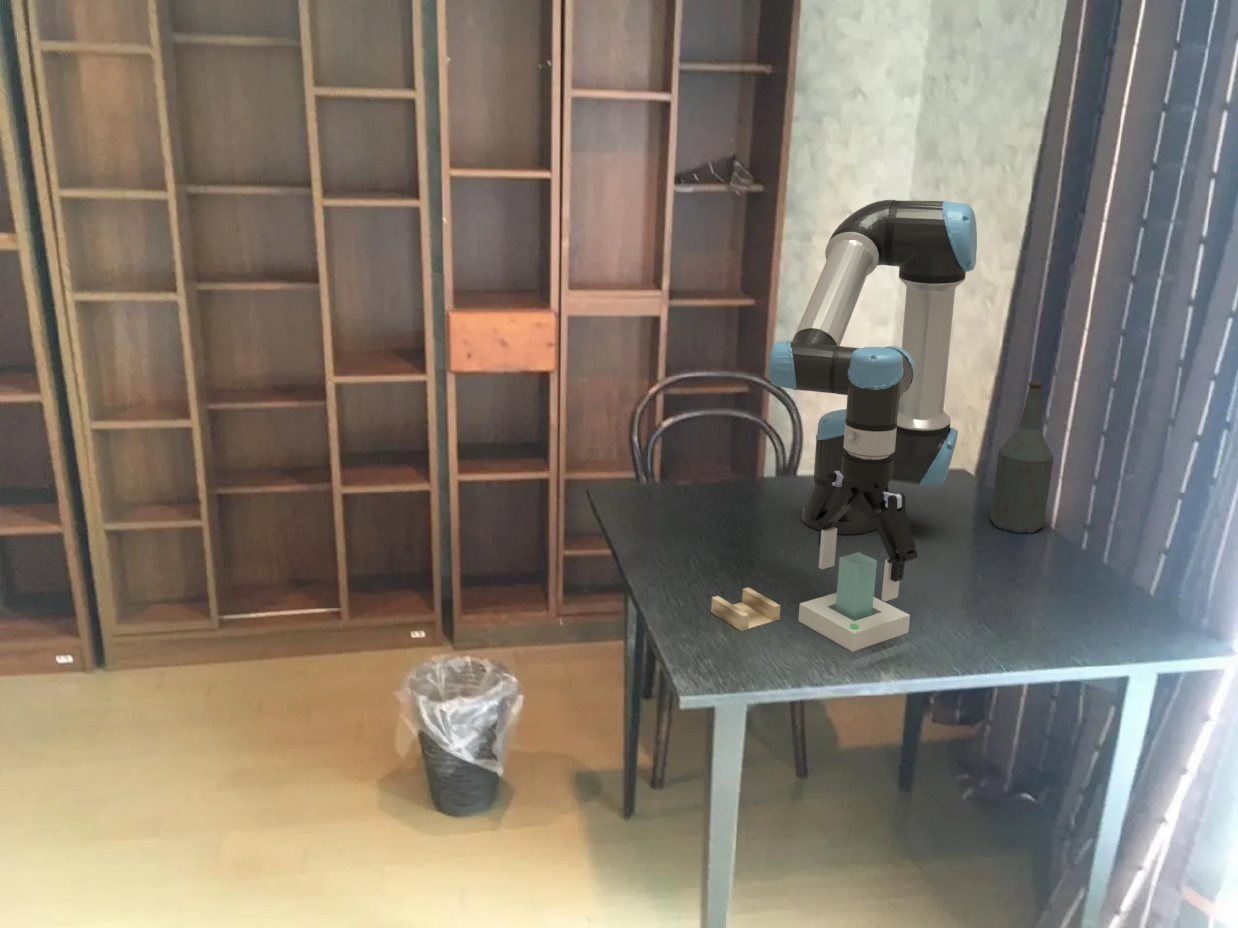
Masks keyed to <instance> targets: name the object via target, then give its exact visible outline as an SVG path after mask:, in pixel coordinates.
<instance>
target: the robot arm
mask: <svg viewBox="0 0 1238 928" xmlns="http://www.w3.org/2000/svg"><path fill="white" fill-rule="evenodd" d="M976 220H977V219H976V215H975V211H974V209H973V207H971V205H969V204H966V203H962V202H954V201H949V200H895V199H884V200H878V201H875V202H871V203H869V204H867V205H865V206H863V207H861V208H859V209H858V210H856V211H855V212H853V213H852V214H850V215H849V216H848V217H847V218H845V220H843V221H842V222H841V223H840V224H839V225H838V226H837V228H836V229H835V230H834V231H833V233H832V234H831V236H830V238H829V240H828V242H827V244H826V247H825V250H824V251H825V252H824V253H825V254H824V256H825V259H826V260H825V263H824V265H823V268H822V271H821V273H820V275H819V278H818V279H817V282H816V284H815V287H814V289H813V291H812V294H811V296H810V298H809V301H808V302H807V303H808V304H807V306H806V308H805V311H804V313H803V315H802V317H801V318H800V322H799V324H798V326H797V329H796V331H795V333H794V336H793V338H792V341H791V340H789V339H788V340H778V341H776V342H775V343H774V344H773V345H772V347H771V350H770V352H769V358H768V366H767V369H768V371H767V372H768V379H769V382H770V383H771V384H772V385H773V386H775V387H778V388H784V389H790V390H793V391H805V392H817V393H824V394H825V393H828V394H836V395H841V396H842V395H844V396H847V398H846V408H845V409H844V408H843V409H838V410H833V411H829V412H827V413H824V414H823V415H822V416H821V417H820V418H819V420H818V423H817V431H816V435H815V440H816V441H815V452H814V453H815V454H814V466H813V467H814V469H813V482H812V486H811V488H810V491H809V493H808V496H807V499H806V502H805V503H804V505H803V507H802V514H801V519H802V520H801V521H802V522H803V523H804V524H805V525H806V526H808V527H810V528H812V529H814V530H817V531H818V538H817V539H818V541H817V542H818V546H819V559H818V560H819V561H818V568H819V569H820V570H825V569H829V568H832V567H835V561H836V551H837V550H836V549H837V538H838V537H837V535H859V534H860V535H861V534H865V533H868V532H869V533H870V532H872V531H874V530H875V529H876V531H877V533H878V536H879V538H880V539H881V541H882V545H883V546H884V548H885V551H886V553H887V555H888V557H889V558H886V559H885V560H884V569H883V578H882V579H883V580H882V589H881V601H883V602H887V601H891V600H894V599H896V598H899V592H900V590H899V589H900V581H902V580H903V579H904V573H905V572H904V571H905V563H907V562H910V561H913V560H916V559H917V558H918V551H917V548H916V545H915V540H914V536H913V533H912V528H911V525H910V521H909V518H908V513H907V511H906V510H907V509H906V495H905V493H902V492H900V493H892V492H890V491H889V483H890V481H891V482H896V483H902V484H903V483H904V484H910V485H916V486H917V487H919V486H926V487H927V486H928V487H929V486H930V487H939V486H941V485H943V484H944V482H945V480H946V477H947V475H948V473H949V472H948V471H949V469H950V466H951V463H952V459H953V455H954V452H955V448H956V445H957V439H958V435H959V430H958V429H956V428H954V427H951V423H952V420H951V417H950V416H949V415H948V413H946V412H945V409H944V407H945V397H946V388H947V377H948V367H949V357H950V356H949V354H950V345H951V338H952V337H951V335H952V328H953V327H952V325H953V316H954V305H955V294H956V289H957V287H958V286H960V285H961V284H962V283H963V282H964V281H965V280H966V275H967V274H966V273H967V272H970V271H974V269H975V268H976V264H977V263H976V262H977V250H978V231H977V229H978V228H977V221H976ZM878 266H890V267H898V269H899V270H898V279H899V280H900V281H901V282H902V283H903V284H904V285H905V287H906V289H905V299H904V300H905V301H904V314H903V326H902V328H903V329H902V340H901V347H900V346H895V345H890V346H884V347H883V346H865V347H851V346H841V343H842V341H843V338H844V337H845V333H846V331H847V328H848V326H849V322H850V320H851V318H852V315H853V312H854V311H855V307H856V305H857V303H858V300H859V297H860V295H861V292H862V290H863V287H864V284H865V282H866V279H867V277H868V276H869V275H870V274H871V273H873V272H874V271H875V270H876V268H877V267H878ZM879 510H881V511H879Z"/></svg>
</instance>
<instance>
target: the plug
mask: <svg viewBox="0 0 1238 928" xmlns="http://www.w3.org/2000/svg"><path fill="white" fill-rule="evenodd" d="M838 560H839V561H838V562H839V563H838V574H837V585H836V593H837V595H836V607H835V611H836V612H838V613H840V614H842V615H844V616H846V617H848V618H849V619H851V620H853V621H856V620H859V619H862V618H865V617H868V616H872V609H873V599H874V597H875V585H876V577H877V576H876V575H877V566H878V560H876V559H875V558H872V557H870V556H867V555H865V554H863V553H862V552H859V551H857V552H854V553H851V554H847V555H842V556H839V559H838Z"/></svg>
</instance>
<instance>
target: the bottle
mask: <svg viewBox="0 0 1238 928" xmlns="http://www.w3.org/2000/svg"><path fill="white" fill-rule="evenodd" d="M1028 386H1029V388H1028V392H1027V395H1026V399H1025V404H1024V407H1023V411H1022V415H1021V419H1020V425H1019V426H1018V428H1016V430H1015V431H1014V432H1013V433H1012V434H1011V436H1010V437H1009V438H1008V439H1007V440H1006V441H1005V443H1004V444H1003V445H1002V446H1001V447H1000V448H999V450H998V455H997V463H996V469H995V476H994V477H995V478H994V485H993V493H992V494H993V495H992V501H991V507H990V508H991V509H990V515H989V517H990V519H991V521H992V523H993V525H995V526H996V528H997V527H998V528H997V529H999V528H1000V530H1002V529H1005V530H1004V531H1006V530H1009V531H1017V532H1028V531H1036V532H1038V531H1039V530H1038V529H1040V528H1041V527H1042V528H1043V527H1044V525H1045V518H1046V512H1047V504H1048V498H1049V492H1050V483H1051V478H1052V477H1051V476H1052V472H1053V464H1054V455H1053V453H1052V451H1051V449H1050V447H1049V445H1048V443H1047V441H1046V439H1045V438H1044V435H1043V433H1042V431H1041V405H1042V404H1041V400H1042V398H1041V397H1042V396H1041V395H1042V393H1041V392H1042V387H1043V383H1042V382H1040V381H1030V382H1028ZM995 526H994V527H995ZM1001 528H1002V529H1001ZM1042 528H1041V529H1042ZM1041 529H1040V530H1041ZM1037 530H1038V531H1037ZM1009 531H1008V532H1009Z"/></svg>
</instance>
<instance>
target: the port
mask: <svg viewBox="0 0 1238 928" xmlns="http://www.w3.org/2000/svg"><path fill="white" fill-rule="evenodd" d="M836 595H837V592H834V593H831V594H827V595H824V596H821V597H817V598H813V599H810V600H807V601H803V602H800V603H799V604H798V605H799V608H798V609H799V610H798V622H799V623H801V624H803V625H805V626H806V627H808V628H810V629H811V630H814V631H815V632H817V633H819V634H821V635H822V636H824V637H826V638H827V639H830V640H831V641H833V643H836V644H838V645H840V646H841V647H843V648H845V649H846V650H849V651H850V652H851V653H853V652H856V651H859V650H863V649H864V648H868V647H871V646H874V645H877V644H879V643H882V642H885V641H888V640H891V639H894V638H897V637H899V636H903V635H905V634H906V635H907V634H908V633H909V631H910V630H909V628H910V622H911V621H910V619H911V614H909V613H907V612H905V611H903V610H901V609H899V608H897V607H895V606H893V605H891V604H889V603H887V602H886V601H883V600H882V599H881V600H880V599H879V598H877V597H875V596H874V599H873V609H872V616H868V617H865V618H862V619H859V620H856V621H853V620H851V619H849V618H848V617H846V616H844V615H842V614H840V613H838V612H836V611H835V607H836Z"/></svg>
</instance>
